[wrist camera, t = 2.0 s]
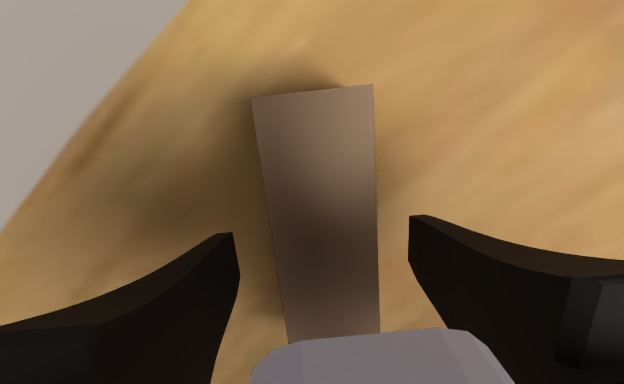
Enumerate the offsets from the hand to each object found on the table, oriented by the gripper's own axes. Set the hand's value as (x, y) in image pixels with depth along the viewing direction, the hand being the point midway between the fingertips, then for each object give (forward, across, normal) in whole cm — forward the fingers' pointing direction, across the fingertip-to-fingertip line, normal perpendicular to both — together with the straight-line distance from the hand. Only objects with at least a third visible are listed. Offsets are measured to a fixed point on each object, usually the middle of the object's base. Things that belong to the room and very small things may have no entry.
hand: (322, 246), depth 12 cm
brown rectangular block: (+3, 0, 0) cm, 3 cm away
